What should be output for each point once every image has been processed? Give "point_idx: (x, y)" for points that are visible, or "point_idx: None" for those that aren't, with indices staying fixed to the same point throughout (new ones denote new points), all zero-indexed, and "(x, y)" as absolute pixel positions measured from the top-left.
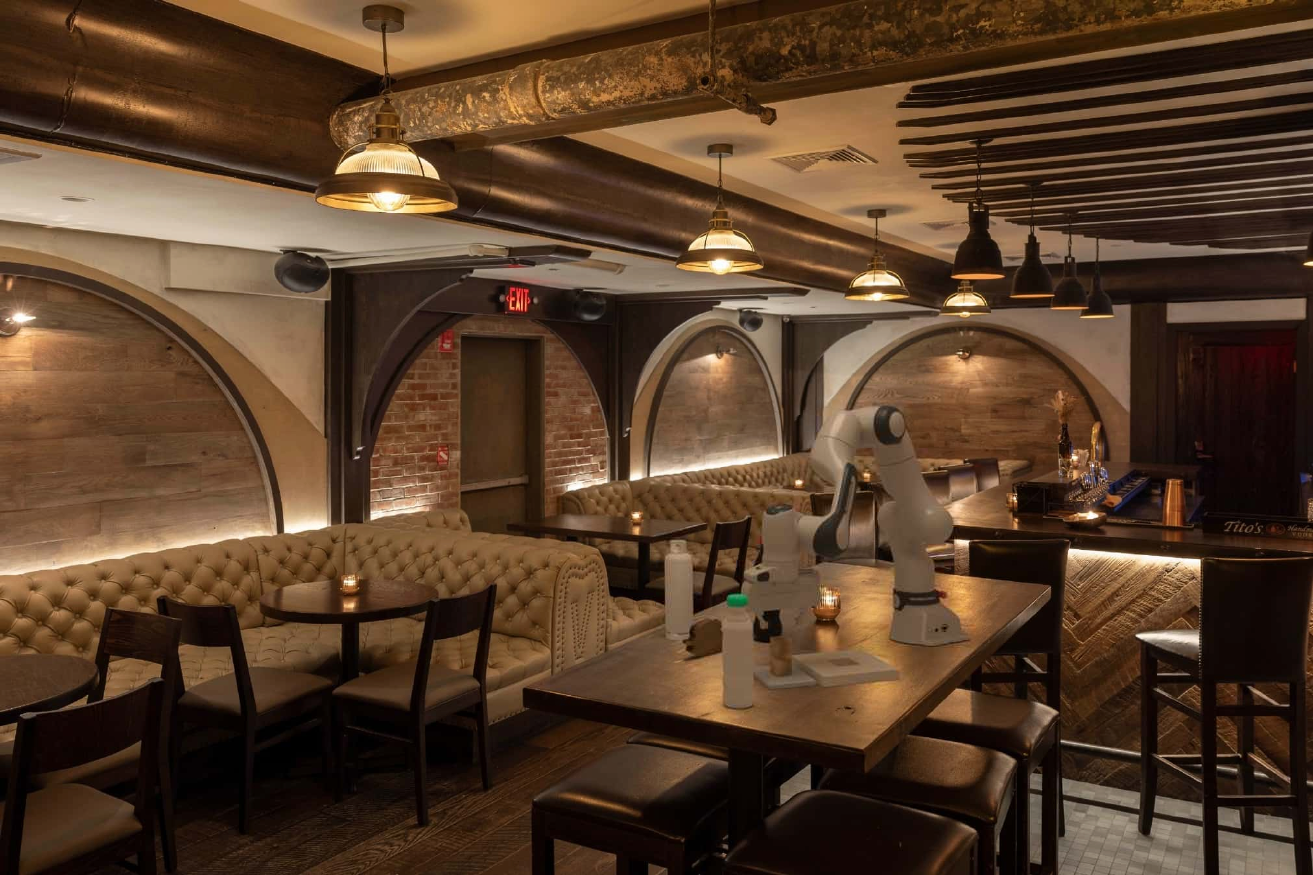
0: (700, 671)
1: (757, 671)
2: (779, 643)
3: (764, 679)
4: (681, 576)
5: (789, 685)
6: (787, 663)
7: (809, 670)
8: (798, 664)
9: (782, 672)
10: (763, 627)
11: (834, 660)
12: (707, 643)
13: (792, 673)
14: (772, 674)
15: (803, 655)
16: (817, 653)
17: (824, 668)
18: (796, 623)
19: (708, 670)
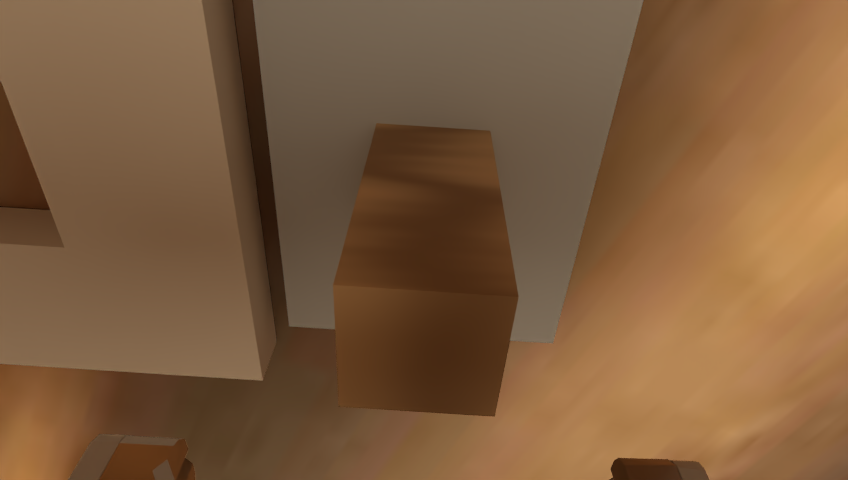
0: (751, 394)
1: (537, 269)
2: (480, 271)
3: (596, 112)
4: None
5: None
6: (403, 164)
7: (232, 132)
8: (257, 280)
9: (446, 139)
10: (693, 471)
11: (10, 237)
12: None
13: (352, 163)
14: None
15: (190, 358)
16: (98, 362)
17: (115, 76)
18: (186, 476)
19: (707, 394)
